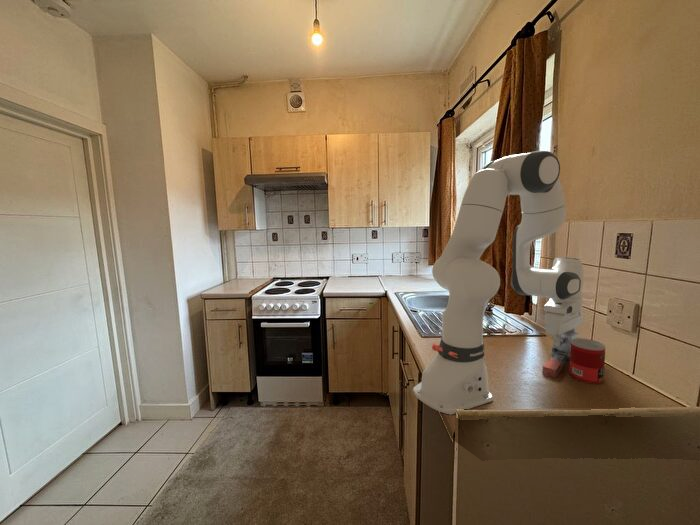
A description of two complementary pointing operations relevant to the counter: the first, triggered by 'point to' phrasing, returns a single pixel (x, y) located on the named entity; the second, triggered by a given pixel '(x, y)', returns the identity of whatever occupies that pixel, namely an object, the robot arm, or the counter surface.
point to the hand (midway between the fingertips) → (564, 341)
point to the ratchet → (555, 363)
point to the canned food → (587, 360)
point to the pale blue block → (566, 341)
